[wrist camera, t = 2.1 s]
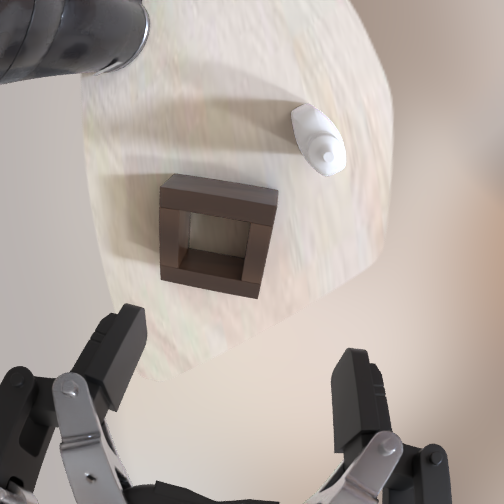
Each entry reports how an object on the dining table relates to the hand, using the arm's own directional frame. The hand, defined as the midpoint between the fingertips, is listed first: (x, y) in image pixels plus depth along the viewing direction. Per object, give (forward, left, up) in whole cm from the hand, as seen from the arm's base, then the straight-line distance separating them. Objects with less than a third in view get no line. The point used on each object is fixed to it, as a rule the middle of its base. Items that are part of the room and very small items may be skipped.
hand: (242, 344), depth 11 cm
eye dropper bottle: (-5, +3, -23) cm, 24 cm away
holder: (+8, -5, -23) cm, 25 cm away
